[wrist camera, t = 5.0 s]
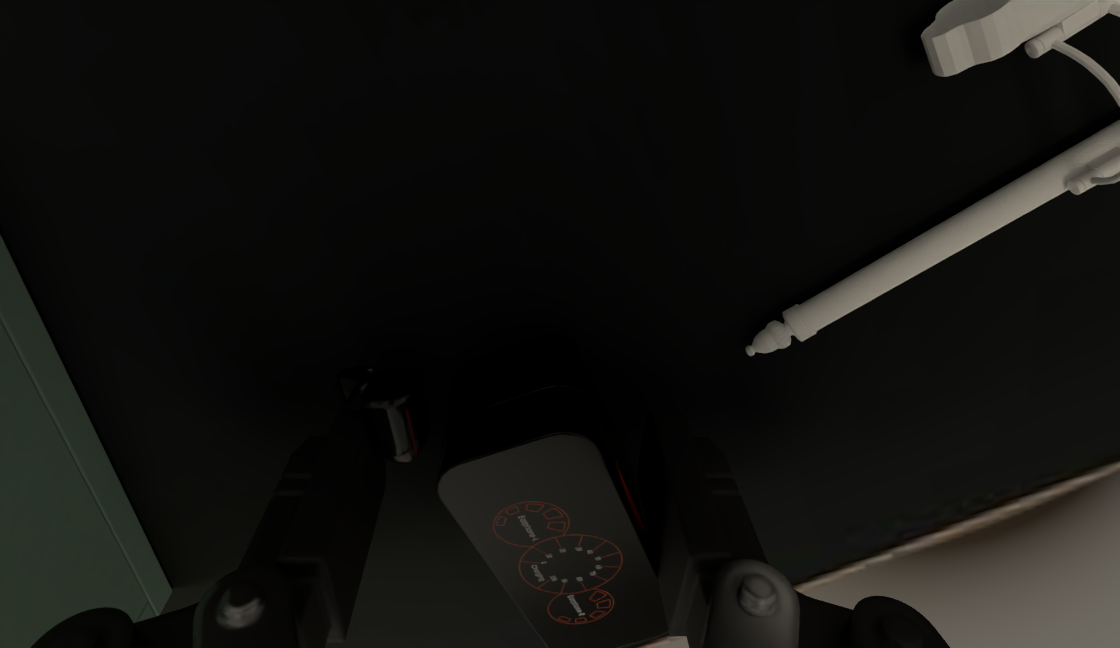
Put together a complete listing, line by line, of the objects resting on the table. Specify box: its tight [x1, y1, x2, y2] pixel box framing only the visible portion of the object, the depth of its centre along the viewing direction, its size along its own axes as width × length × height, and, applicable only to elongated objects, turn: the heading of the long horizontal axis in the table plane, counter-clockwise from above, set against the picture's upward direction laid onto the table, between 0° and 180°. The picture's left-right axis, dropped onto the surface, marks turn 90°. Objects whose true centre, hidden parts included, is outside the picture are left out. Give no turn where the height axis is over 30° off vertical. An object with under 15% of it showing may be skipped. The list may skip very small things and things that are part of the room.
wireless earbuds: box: [337, 333, 669, 648], centre depth 12 cm, size 5×7×3 cm, turn 20°
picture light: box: [745, 0, 1120, 356], centre depth 9 cm, size 14×4×2 cm, turn 126°
